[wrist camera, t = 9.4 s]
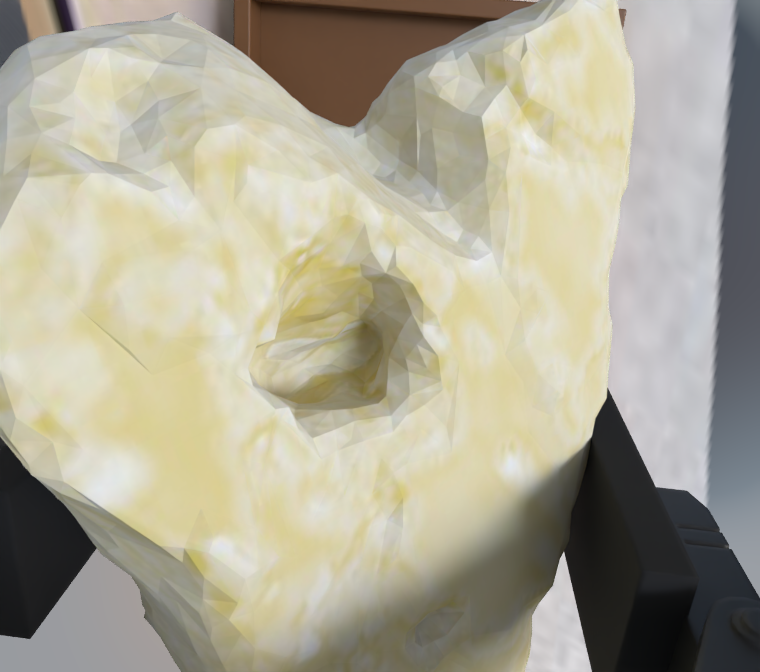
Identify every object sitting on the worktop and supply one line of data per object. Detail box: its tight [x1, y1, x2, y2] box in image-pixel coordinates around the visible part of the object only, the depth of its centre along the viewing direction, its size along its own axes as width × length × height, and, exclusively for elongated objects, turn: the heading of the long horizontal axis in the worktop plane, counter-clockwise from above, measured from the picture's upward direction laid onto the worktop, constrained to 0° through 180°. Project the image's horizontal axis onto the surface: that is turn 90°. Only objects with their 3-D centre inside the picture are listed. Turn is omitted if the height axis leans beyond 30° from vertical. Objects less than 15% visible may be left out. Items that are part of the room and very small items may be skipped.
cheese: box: [0, 0, 635, 672], centre depth 13 cm, size 15×7×15 cm
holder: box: [234, 0, 626, 127], centre depth 28 cm, size 13×21×2 cm, turn 175°
